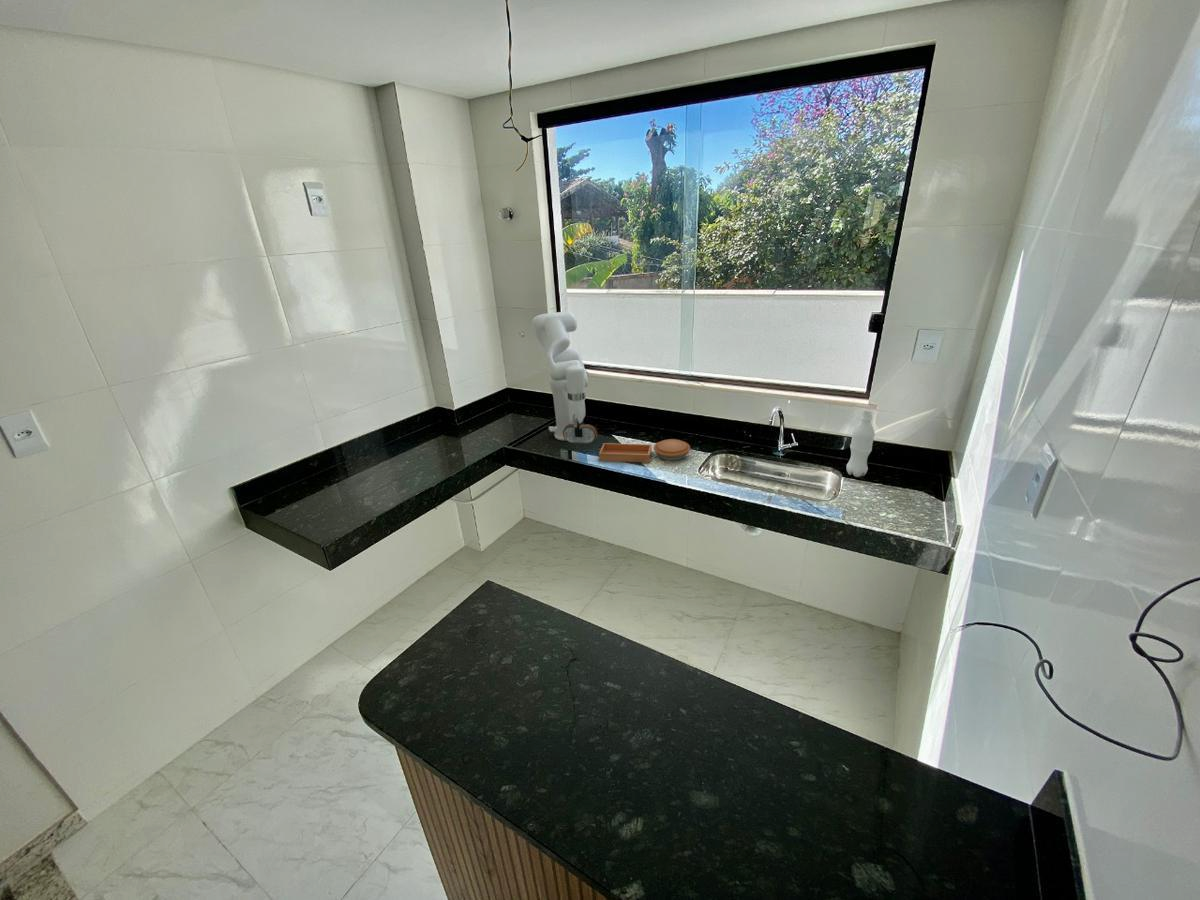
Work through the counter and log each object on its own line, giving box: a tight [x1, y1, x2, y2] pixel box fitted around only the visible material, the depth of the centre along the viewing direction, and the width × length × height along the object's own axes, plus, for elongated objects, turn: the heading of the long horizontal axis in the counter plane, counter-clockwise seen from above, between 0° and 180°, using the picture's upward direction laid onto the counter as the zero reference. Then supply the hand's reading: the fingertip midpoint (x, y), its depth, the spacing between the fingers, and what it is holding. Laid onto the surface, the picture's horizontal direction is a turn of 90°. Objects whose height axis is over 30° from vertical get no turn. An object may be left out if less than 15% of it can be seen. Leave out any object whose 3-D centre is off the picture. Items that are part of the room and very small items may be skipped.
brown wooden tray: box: [598, 442, 653, 464], centre depth 208 cm, size 21×10×4 cm, turn 78°
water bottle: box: [845, 410, 876, 478], centre depth 178 cm, size 7×7×25 cm
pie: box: [653, 438, 691, 461], centre depth 206 cm, size 15×16×5 cm
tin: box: [563, 423, 598, 445], centre depth 209 cm, size 15×3×8 cm, turn 78°
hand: (579, 434), depth 210 cm, fingers closed on tin, 2 cm apart
